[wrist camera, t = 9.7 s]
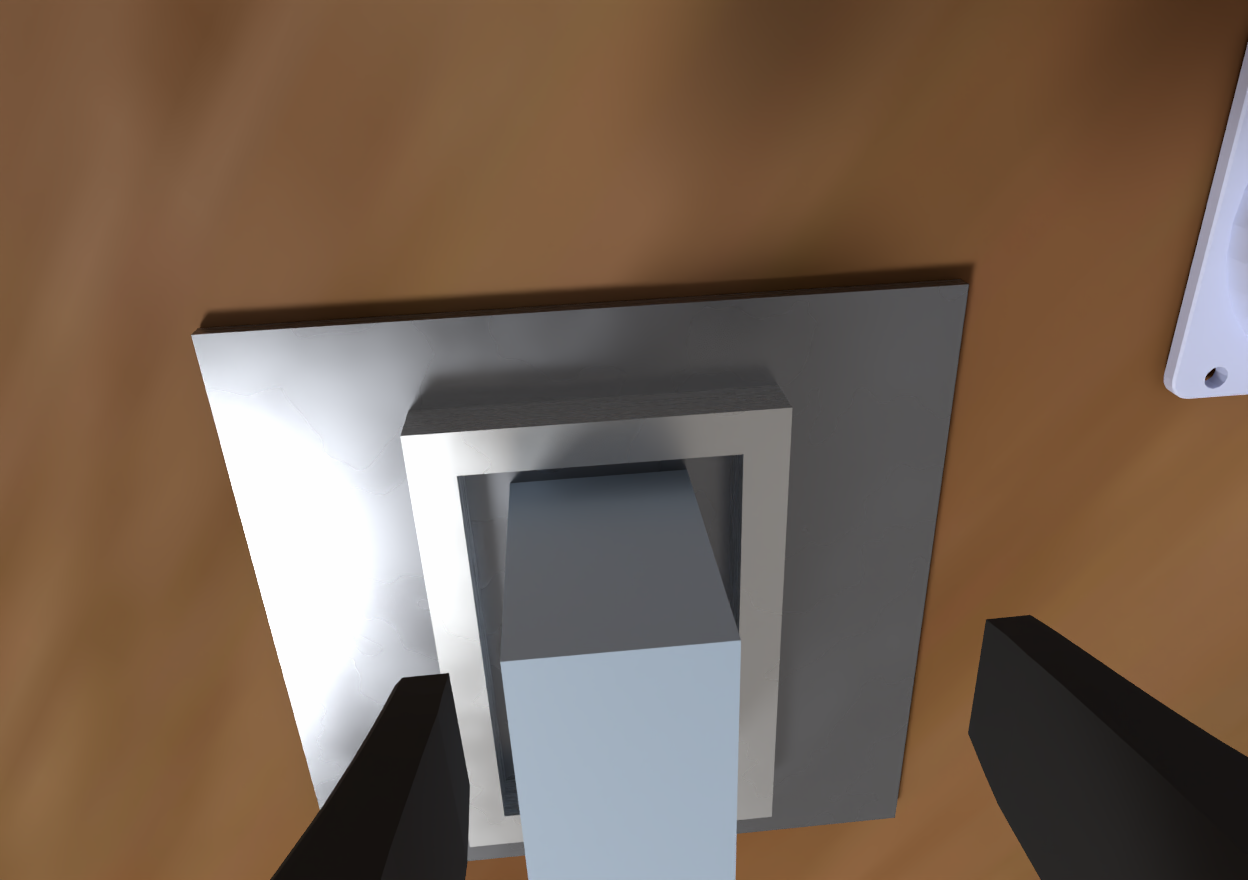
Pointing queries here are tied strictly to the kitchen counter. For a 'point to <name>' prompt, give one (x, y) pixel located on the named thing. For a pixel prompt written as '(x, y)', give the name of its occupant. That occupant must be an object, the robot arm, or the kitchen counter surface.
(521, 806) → the light blue block
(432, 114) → the kitchen counter surface
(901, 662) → the pocket plate
